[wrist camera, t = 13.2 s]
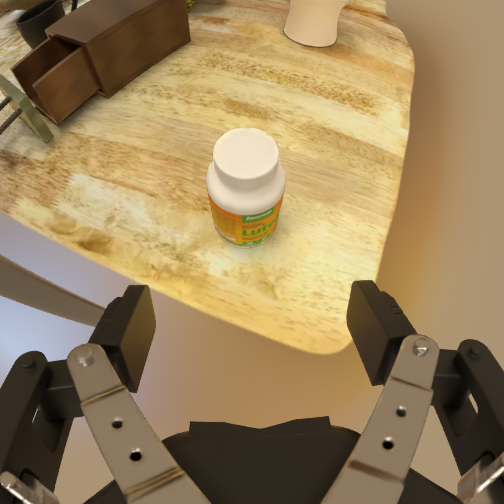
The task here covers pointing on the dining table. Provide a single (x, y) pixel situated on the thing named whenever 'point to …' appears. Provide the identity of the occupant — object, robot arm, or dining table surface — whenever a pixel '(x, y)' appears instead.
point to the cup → (314, 21)
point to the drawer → (49, 84)
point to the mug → (40, 20)
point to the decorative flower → (190, 4)
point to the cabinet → (124, 36)
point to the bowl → (19, 4)
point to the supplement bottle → (245, 186)
